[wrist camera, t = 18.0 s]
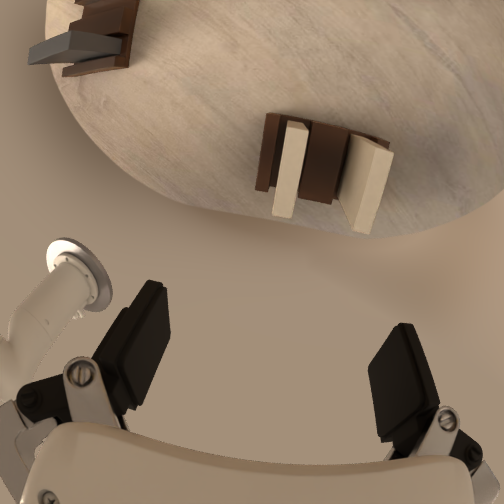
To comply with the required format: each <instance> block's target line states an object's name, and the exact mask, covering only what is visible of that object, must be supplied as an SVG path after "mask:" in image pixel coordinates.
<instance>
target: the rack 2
mask: <svg viewBox="0 0 504 504" xmlns="http://www.w3.org/2000/svg"><path fill="white" fill-rule="evenodd" d="M288 120H290V121H295V122H301V123H303V124H304V125H305V127H306V128H307V129H308V131H309V134H308V139H307V144H306V150H305V155H304V160H303V165H302V170H301V175H300V180H299V185H298V190H297V191H298V198H301V199H306V200H311V201H316V202H321V203H326V204H330V205H331V203H332V200H333V199H337V200H339V199H338V197H337V192H338V188H339V184H340V180H341V176H342V172H343V168H344V163H345V159H346V155H347V150H348V146H349V141H350V137H351V134H354V135H358V136H362V137H365V138H367V139H369V140H371V141H373V142H375V143H377V144H379V145H381V146H382V147H384V148H386V149H388V148H389V144H390V142H388V141H385V140H383V139H381V138H378V137H375V136H371V135H368V134H365V133H361V132H358V131H354V130H350V129H347V128H343V127H339V126H335V125H331V124H326V123H322V122H317V121H313V120H308V119H303V118H298V117H293V116H287V115H281V114H275V113H266V119H265V125H264V132H263V139H262V146H261V152H260V159H259V166H258V173H257V179H256V186H255V190H257V191H263V192H268V189H269V186H273V187H276V186H277V180H278V174H279V169H280V163H281V157H282V151H283V145H284V139H285V133H286V128H287V122H288Z"/></svg>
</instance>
